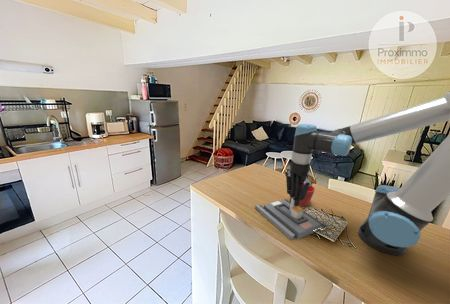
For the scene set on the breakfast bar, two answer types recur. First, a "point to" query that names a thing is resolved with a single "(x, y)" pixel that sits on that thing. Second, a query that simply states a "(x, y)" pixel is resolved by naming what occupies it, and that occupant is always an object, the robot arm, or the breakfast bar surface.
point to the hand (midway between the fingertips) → (292, 210)
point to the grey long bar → (276, 222)
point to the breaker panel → (284, 215)
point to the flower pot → (307, 196)
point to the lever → (296, 212)
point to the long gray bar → (312, 218)
